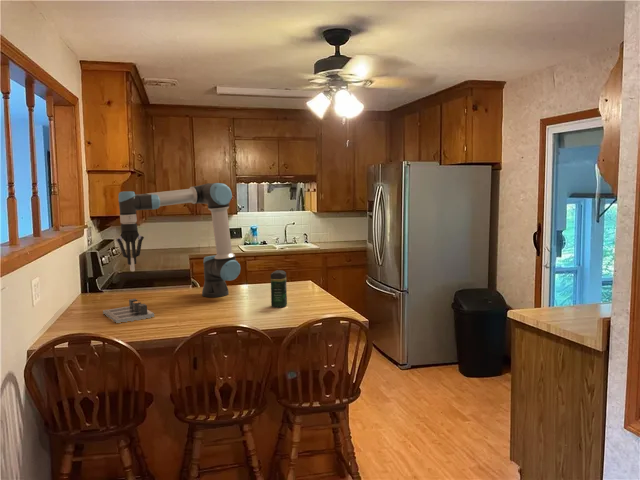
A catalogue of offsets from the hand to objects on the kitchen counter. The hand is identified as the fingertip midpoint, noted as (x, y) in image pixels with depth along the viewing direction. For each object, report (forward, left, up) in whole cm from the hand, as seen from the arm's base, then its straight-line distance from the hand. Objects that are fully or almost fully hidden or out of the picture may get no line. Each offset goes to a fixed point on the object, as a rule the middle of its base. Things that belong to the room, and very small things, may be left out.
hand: (132, 270), depth 251 cm
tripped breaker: (-2, +2, -21) cm, 21 cm away
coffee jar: (+32, +65, -23) cm, 75 cm away
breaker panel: (-2, -3, -23) cm, 23 cm away
